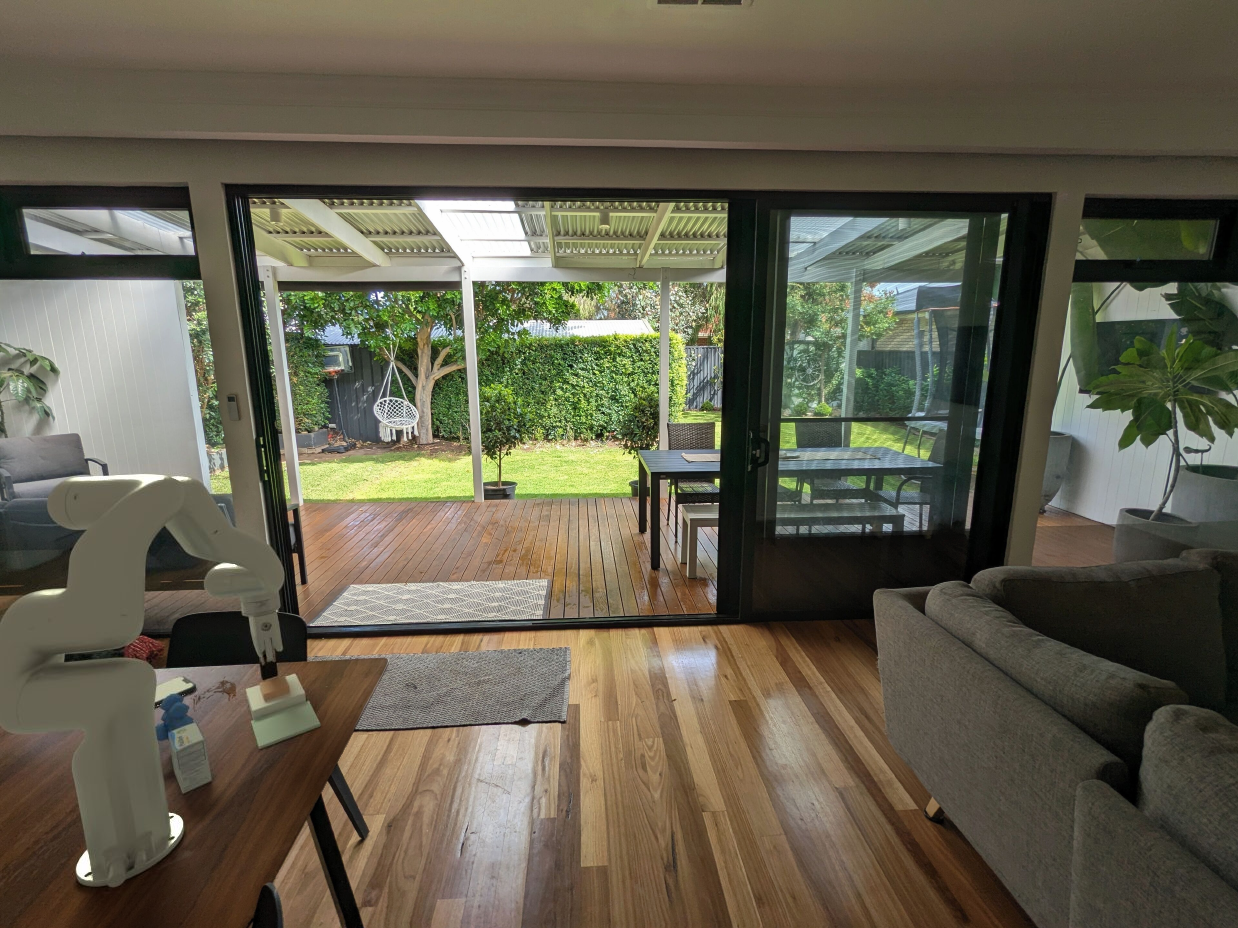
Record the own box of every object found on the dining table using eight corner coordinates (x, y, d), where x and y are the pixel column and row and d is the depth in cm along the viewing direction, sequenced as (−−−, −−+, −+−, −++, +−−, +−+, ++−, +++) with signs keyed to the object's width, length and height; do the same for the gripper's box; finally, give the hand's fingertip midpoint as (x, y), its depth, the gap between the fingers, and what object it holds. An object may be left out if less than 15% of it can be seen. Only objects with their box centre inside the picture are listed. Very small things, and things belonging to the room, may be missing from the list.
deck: (306, 702, 123) (305, 692, 123) (253, 721, 117) (252, 710, 116) (296, 682, 131) (295, 673, 131) (246, 698, 125) (245, 688, 125)
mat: (320, 725, 115) (320, 723, 115) (259, 749, 108) (258, 746, 108) (309, 703, 123) (308, 700, 123) (251, 723, 116) (250, 720, 116)
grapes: (146, 752, 107) (136, 696, 105) (187, 734, 113) (179, 681, 111) (164, 777, 100) (154, 718, 99) (208, 756, 106) (199, 700, 104)
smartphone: (111, 728, 116) (198, 690, 129) (109, 722, 116) (197, 684, 129) (97, 715, 121) (183, 680, 134) (95, 709, 120) (182, 674, 134)
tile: (290, 692, 123) (289, 685, 123) (264, 700, 120) (263, 694, 120) (285, 681, 128) (284, 675, 127) (260, 689, 124) (259, 683, 124)
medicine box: (212, 781, 99) (206, 738, 98) (181, 795, 96) (174, 751, 95) (203, 761, 105) (197, 720, 103) (173, 773, 101) (167, 731, 100)
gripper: (285, 609, 123) (294, 684, 126) (274, 590, 134) (282, 659, 137) (245, 618, 118) (255, 696, 121) (237, 598, 129) (246, 670, 132)
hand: (269, 676), depth 129 cm, fingers closed
